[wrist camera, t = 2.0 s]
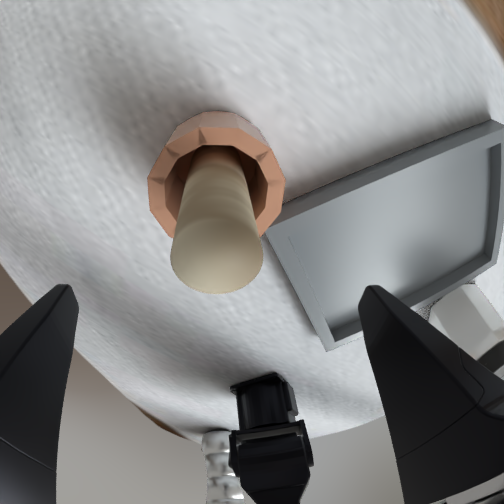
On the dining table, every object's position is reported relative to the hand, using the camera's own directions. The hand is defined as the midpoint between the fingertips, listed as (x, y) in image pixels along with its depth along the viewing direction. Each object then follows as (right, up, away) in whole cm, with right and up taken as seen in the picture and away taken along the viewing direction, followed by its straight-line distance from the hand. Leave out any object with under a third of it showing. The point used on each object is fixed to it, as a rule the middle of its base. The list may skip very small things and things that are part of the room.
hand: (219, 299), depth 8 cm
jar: (+27, -5, +22) cm, 35 cm away
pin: (-1, +7, +9) cm, 11 cm away
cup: (-1, +7, +9) cm, 12 cm away
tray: (+15, +3, +15) cm, 21 cm away
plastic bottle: (-5, -31, +37) cm, 48 cm away
